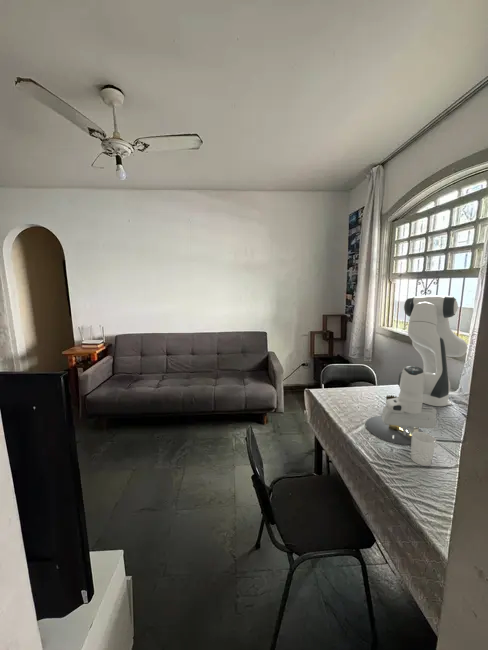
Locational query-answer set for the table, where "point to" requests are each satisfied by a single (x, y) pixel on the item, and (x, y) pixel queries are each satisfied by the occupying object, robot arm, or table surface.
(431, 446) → the white cup
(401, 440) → the dial
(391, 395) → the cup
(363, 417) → the table surface
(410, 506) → the table surface
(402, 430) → the needle
